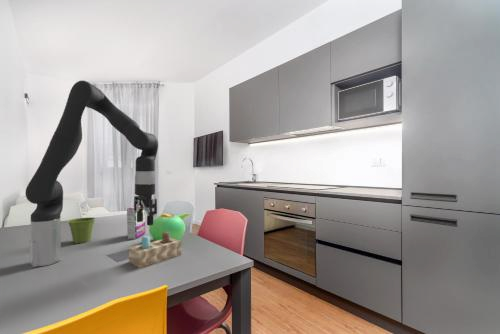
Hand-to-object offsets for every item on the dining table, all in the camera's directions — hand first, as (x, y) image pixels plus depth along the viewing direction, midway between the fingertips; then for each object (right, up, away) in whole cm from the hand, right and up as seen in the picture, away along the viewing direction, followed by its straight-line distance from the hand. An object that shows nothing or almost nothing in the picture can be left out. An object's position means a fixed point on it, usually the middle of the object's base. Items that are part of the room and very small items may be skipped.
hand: (144, 223), depth 98 cm
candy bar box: (-20, -16, +37) cm, 45 cm away
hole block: (+3, -16, +4) cm, 16 cm away
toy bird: (+1, -16, +27) cm, 31 cm away
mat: (-11, -16, +8) cm, 21 cm away
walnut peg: (+6, -16, +7) cm, 18 cm away
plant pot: (-44, -16, +28) cm, 55 cm away
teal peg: (0, -16, 0) cm, 16 cm away
